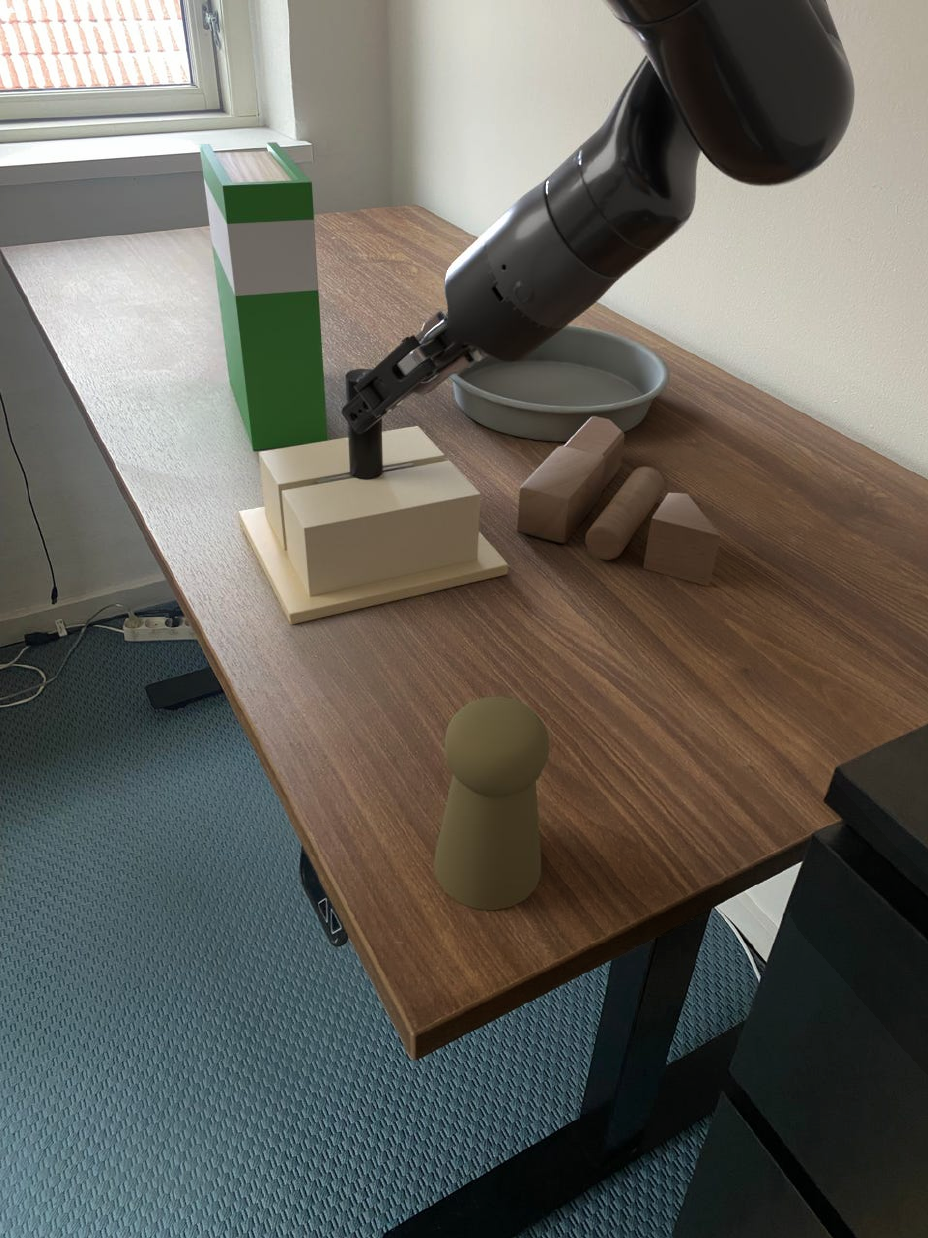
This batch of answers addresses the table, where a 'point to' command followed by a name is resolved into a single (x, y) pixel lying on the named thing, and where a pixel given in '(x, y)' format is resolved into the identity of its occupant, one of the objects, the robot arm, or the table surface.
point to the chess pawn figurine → (492, 804)
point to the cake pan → (563, 385)
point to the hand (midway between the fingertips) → (386, 401)
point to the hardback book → (268, 292)
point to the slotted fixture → (365, 527)
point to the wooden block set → (615, 506)
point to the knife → (363, 442)
